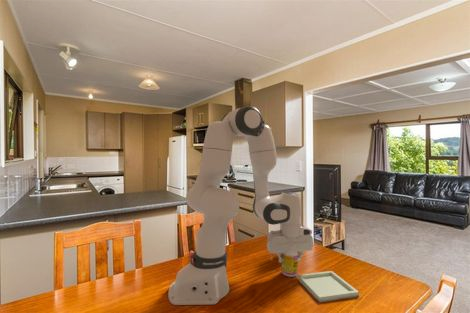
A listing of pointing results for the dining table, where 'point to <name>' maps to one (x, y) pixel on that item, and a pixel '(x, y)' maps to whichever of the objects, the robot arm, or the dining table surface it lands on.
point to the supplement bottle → (290, 262)
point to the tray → (327, 286)
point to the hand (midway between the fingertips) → (289, 261)
